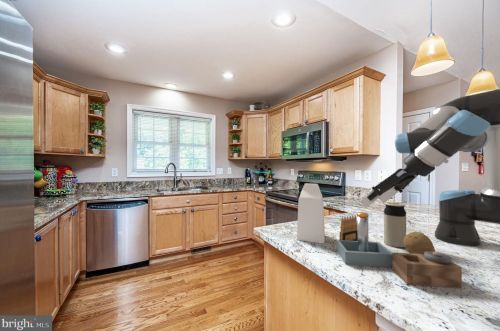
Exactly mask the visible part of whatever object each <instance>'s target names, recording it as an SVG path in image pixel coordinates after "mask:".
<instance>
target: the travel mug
mask: <svg viewBox="0 0 500 331" xmlns="http://www.w3.org/2000/svg"><path fill="white" fill-rule="evenodd" d="M384 205H385V208H384V209H383V243H384V244H385V245H387V246H390V247H393V248H401V249H402V248H405V246H404V243H403V240H404V238H405V236H406V235H407V211H406V210H405V206H406V204H405V203H401V202H394V201H392V202H391V201H389V202H387V201H386V202H385V203H384Z"/></svg>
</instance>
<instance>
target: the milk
mask: <svg viewBox="0 0 500 331" xmlns="http://www.w3.org/2000/svg"><path fill="white" fill-rule="evenodd" d="M324 212H325V209H324V197H323V194H322V192H321V190H320V186H319V184H318V183H304V185H303V187H302V189H301V192H300V195H299V197H298V205H297V226H296V227H297V228H296V229H297V230H296V240H297V241H304V242H311V243H312V242H313V243H319V244H324V243H325V237H326V230H325V226H326V225H325V213H324Z"/></svg>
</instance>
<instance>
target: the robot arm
mask: <svg viewBox="0 0 500 331" xmlns="http://www.w3.org/2000/svg"><path fill="white" fill-rule="evenodd" d="M394 147H395V150H396V151H397V153H398V154H408V155H407V156H406V157H404V159H403V164H404V165H405V166H406V167H404V168H398V169H397V170H396V171H394V172H393V173H392V174H391V175H389V176H388V177H386V178H385V179H384V180H382V181H381V182H379V183H377V185H375V186H374V185H373V186H372V187H371V189H372V191H370V192H369V193H368V194H367V195H366V196H365V197H364V198H362V199H360V201H359V203H361V205H363V207H364V208H365V209H368V207H369V206H371V205H372V204H373V203H374V202H375V201H377V200H378V199H379V200H380V202H382V204H385V203H386V202H387V201H389V200H390V199H391V198H393V197H394V196H396V195H397V193H400V194H401V193H403V192H404V190H405V188H406V187H408V186H409V184H411V182H413V181H414V180H415V179H416V178H417V177H418V176H421V177H427V176H428V175H430V174H431V173H432V172H434V171H435V170H436V168H437V167H441V165H442V164H448V163H449V159H450V158H452V157H453V156H454V155H455V154H457V153H458V152H463V153H470V152H471V153H472V152H473V153H474V152H477V151H480V150H483V152H482V153H483V169H484V170H483V171H484V185H485V186H484V187H483V188H482V189H480V192H479V193H476V191H475V190H474V189H457V190H456V189H455V190H443V191H440V192H439V197H438V198H439V200H438V204H439V205H438V207H439V208H438V210H439V214H438V215H439V217H438V219H439V221H438V224H437V225H436V226H437V227H436V229H435V230H434V238H436V239H437V240H440V241H443V242H445V243H450V244H455V245H458V246H459V245H460V246H465V247H466V246H469V247H479V246H481V244H482V240H481V238H480V235H479V233H478V231H477V228H476V224H475V223H476V221H477V222H483V223H490V224H497V225H500V88H498V89H493V90H488V91H483V92H479V93H474V94H470V95H464V96H461V97H458V98H456V99H453V100H450V101H448V102H446V103H445V104H443V105H440V106H439V107H438V108H436V109H434V111H433V112H432V114H431V116H430V117H429V118H427V119H426V120H425V121H424V122H422V123H421V124H420V125H419V126H417V127H416V128H414V130H412V131H410V132H407V131H406V132H403V133H399V134H397V135H396V136H395V139H394Z"/></svg>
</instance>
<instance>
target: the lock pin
mask: <svg viewBox="0 0 500 331" xmlns="http://www.w3.org/2000/svg"><path fill="white" fill-rule="evenodd" d="M369 216H370V215H369V213H368V212H366V211H365V212H363V211H358V212H356V218H357V233H358V252H369V242H370V241H369Z"/></svg>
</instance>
